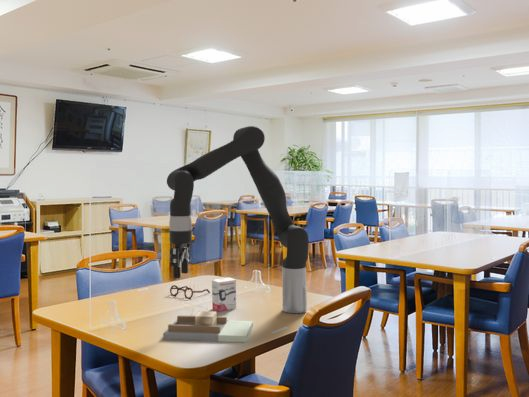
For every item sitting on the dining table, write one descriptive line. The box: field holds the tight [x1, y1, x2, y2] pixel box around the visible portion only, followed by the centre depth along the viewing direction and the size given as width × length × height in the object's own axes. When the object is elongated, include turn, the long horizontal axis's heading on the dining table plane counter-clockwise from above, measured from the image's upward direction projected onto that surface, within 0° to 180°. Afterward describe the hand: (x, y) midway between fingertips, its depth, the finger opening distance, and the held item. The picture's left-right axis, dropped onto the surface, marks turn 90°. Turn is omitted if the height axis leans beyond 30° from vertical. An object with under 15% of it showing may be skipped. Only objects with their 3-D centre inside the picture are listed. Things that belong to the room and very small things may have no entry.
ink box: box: [211, 277, 237, 312], centre depth 205 cm, size 8×5×12 cm, turn 123°
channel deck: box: [162, 314, 254, 343], centre depth 175 cm, size 28×16×4 cm, turn 83°
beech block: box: [194, 310, 218, 326], centre depth 175 cm, size 6×6×4 cm
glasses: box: [169, 284, 211, 299], centre depth 229 cm, size 13×13×5 cm
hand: (181, 275), depth 177 cm, fingers open, 8 cm apart
